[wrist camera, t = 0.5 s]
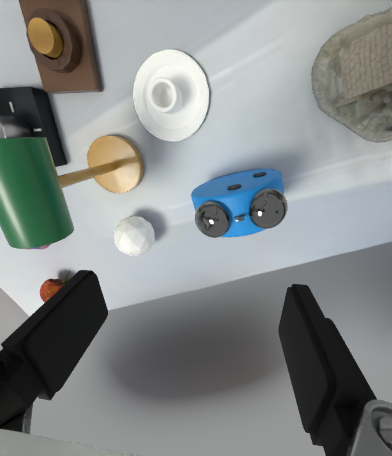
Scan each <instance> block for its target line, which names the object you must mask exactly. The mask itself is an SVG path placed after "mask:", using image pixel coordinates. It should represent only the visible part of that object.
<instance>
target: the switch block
mask: <svg viewBox="0 0 392 456" xmlns="http://www.w3.org/2000/svg"><path fill="white" fill-rule="evenodd" d="M19 3H20V7H21V10H22V14H23V17H24V21H25V24H26V28H27V34H26V35H27V38H28V41H29V45H30V48H31V51H32V52H33V54H34V56H35V59H36V63H37V66H38V70H39V73H40V77H41V80H42V84H43V87H44V91H45V92H48V93H52V94H57V93H80V92H102V89H101V83H100V78H99V72H98V67H97V61H96V55H95V50H94V44H93V39H92V33H91V28H90V22H89V17H88V11H87V6H86V0H19ZM33 18H41V19H43V20H44V21H46V22H48V23H49V24H51V25H53V26H54V27H55V28H56V29H57V30H58V31H59V33H60V35H61V37H62V40H63V51H62V53H61V55H60V56H59V57H57V58H52V57H50V56H47V55H45V54H43V53H40V52H39V51H37V50H36V49H35V48H34V46H33V45H32V43H31V41H30V39H29V35H28V25H29V22H30V21H31V20H32V19H33Z"/></svg>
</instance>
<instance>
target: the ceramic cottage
mask: <svg viewBox="0 0 392 456" xmlns="http://www.w3.org/2000/svg"><path fill="white" fill-rule="evenodd" d="M312 84H313V86H312V87H313V91H314V92H313V93H314V95H315V98H316V99H317V102H318V105H319V107H320V109H321V110H322V111H324V112H325V113H327V114H328V115H329V116H331V117H333V118H334V119H336V120H337V121H339V122H341V123H342V124H344V125H345V126H347V127H349V128H350V129H351V130H353V131H354V132H355V133H357V134H359V135H360V136H361V137H363V138H364V139H365V140H368V141H372V142H384V141H385V142H386V141H389V140H391V139H392V7H391V8H390V9H388V10H387V11H385V12H382V13H381V12H380V13H378V14H375V15H373V16H372V15H366V16H365V17H364V18H362V19H361V20H360V21H358V22H357V23H355V24H351V25H349V26H348V27H346V28H344V29H343V30H341V31H339V32H338V33H336V34H335V35H333V36H332V37H331V38H330V39H329V40H328V41H327V42H326V43H325V44H324V45H323V47H322V48H321V50H320V52H319V54H318V55H317V58H316V60H315V62H314V66H313V68H312Z"/></svg>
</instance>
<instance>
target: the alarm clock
mask: <svg viewBox="0 0 392 456" xmlns="http://www.w3.org/2000/svg"><path fill="white" fill-rule="evenodd" d="M191 197H192V201H193V204H194V208H195V211H196V213H195V222H196V225H197V227H198V229H199V230H200V231H201V232H202V233H203V234H204V235H206V236H208V237H213V238H217V237H239V236H245V235H250V234H254V233H257V232H260V231H263V230H265V229H269V228H273V227H275V226H277V225H279V224H280V223H281V222H282V221H283V219H284V218H285V216H286V213H287V209H288V204H287V200H286V198H285V196H284V192H283V181H282V174H281V173H280V172H279V171H277V170H274V169H257V170H249V171H243V172H238V173H234V174H230V175H226V176H222V177H219V178H216V179H213V180H211V181H208V182H206V183H204V184H202V185H200V186H198V187H197V188H195V189H194V190H193V192H192V194H191Z"/></svg>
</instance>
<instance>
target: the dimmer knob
mask: <svg viewBox="0 0 392 456" xmlns="http://www.w3.org/2000/svg"><path fill="white" fill-rule="evenodd" d="M24 137H31V130H30V128H29V126H28V124H27V123H26V122H25V121H24V120H23V119H21V118H19V117H11V116H0V138H24Z"/></svg>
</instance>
